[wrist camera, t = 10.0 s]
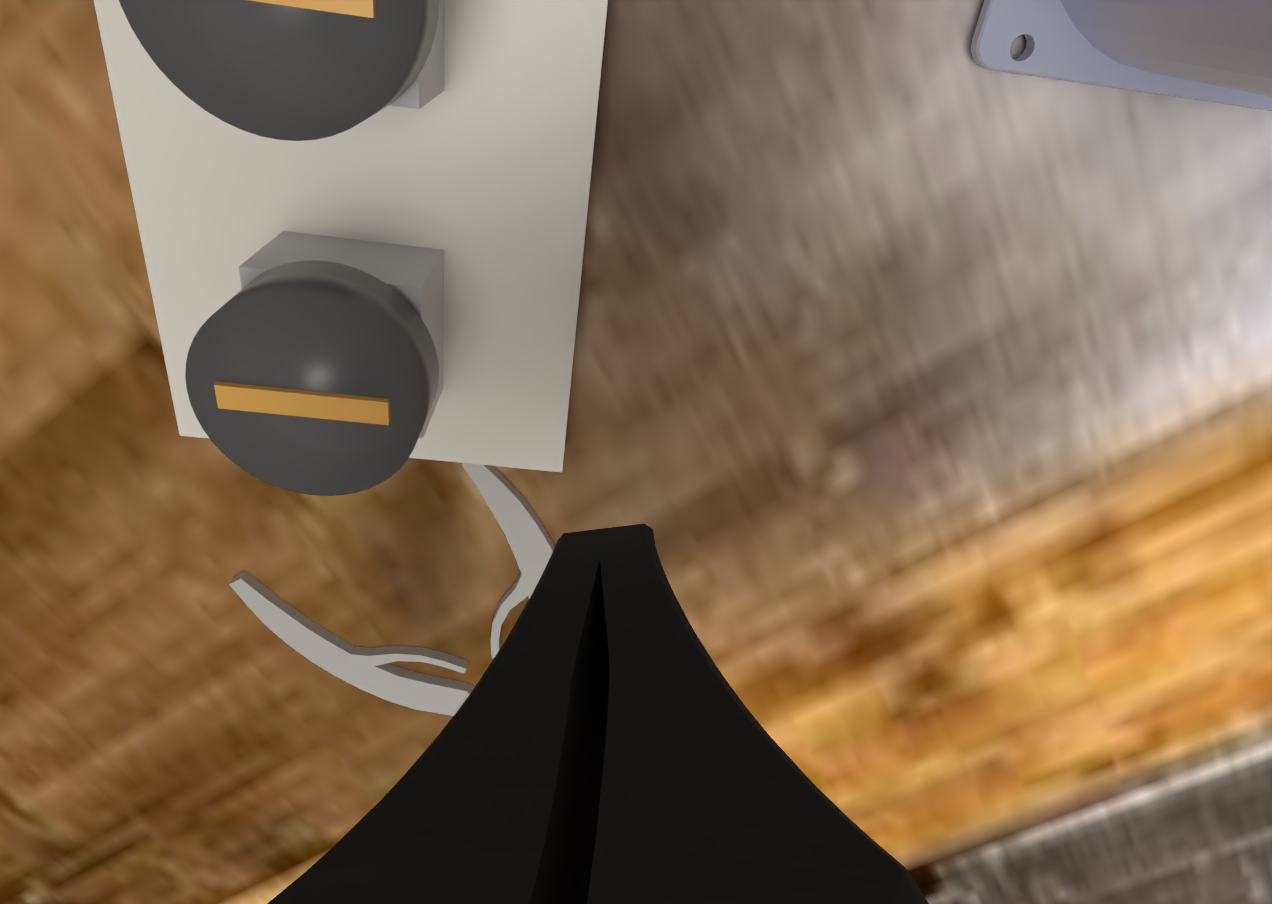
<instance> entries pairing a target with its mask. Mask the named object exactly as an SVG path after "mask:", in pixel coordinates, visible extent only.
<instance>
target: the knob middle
mask: <svg viewBox="0 0 1272 904" xmlns="http://www.w3.org/2000/svg"><path fill="white" fill-rule="evenodd" d="M119 2H120V5H121V7H122V9H123V11H124V13H125V16H126V18H127V20H128V22H129V24H130V26H131V28H132V30H133V31H134V33H135V35H136V36H137V38H138V40H139V41H140V43H141V45H142V46H143V48H144V49H145V51H146V52H147V53H148V55H149V56H150V57H151V59H152V60H153V61H154V63H155V64H156V65H157V67H158V68H159V69H160V70H161V71H162V72H163V73H164V74H165V76H166V77H167V78H168V79H169V80H170V81H171V82H172V83H173V84H174V85H175V86H176V87H177V88H178V89H179V90H180V91H182V92H183V93H184V94H185V95H186V96H187V97H188V98H189V99H191V100H192V101H193V102H195V103H196V104H197V105H199V106H200V107H201V108H203V109H204V110H205V111H207V112H209V113H210V114H212V115H214V116H215V117H217V118H219V119H220V120H222V121H224V122H226V123H228V124H230V125H232V126H234V127H237V128H239V129H241V130H243V131H246V132H249V133H253V134H256V135H259V136H262V137H267V138H272V139H278V140H289V141H305V140H317V139H321V138H326V137H330V136H334V135H336V134H339V133H341V132H344V131H347V130H349V129H351V128H352V127H354V126H356V125H358V124H359V123H361V122H363V121H364V120H366V119H368V118H369V117H371V116H372V115H374V114H376V113H377V112H379V111H380V110H382V109H384V108H385V107H387V106H389V105H390V104H391V103H393V102H394V101H395V100H396V99H398V98H399V97H400V96H401V95H403V93H404V92H405V91H406V90H407V89H408V88H409V87H410V86H411V85H412V84H413V82H414V81H415V79H416V78H417V76H418V75H419V73H420V72H421V70H422V69H423V67H424V65H425V62H426V60H427V58H428V56H429V54H430V51H431V48H432V45H433V42H434V38H435V34H436V29H437V23H438V15H439V0H119Z"/></svg>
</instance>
